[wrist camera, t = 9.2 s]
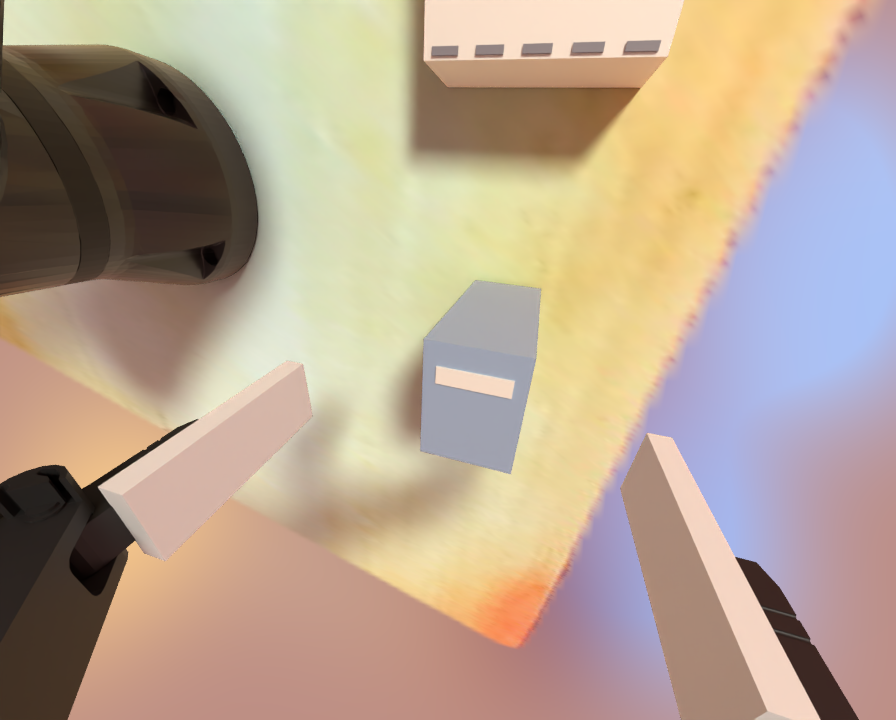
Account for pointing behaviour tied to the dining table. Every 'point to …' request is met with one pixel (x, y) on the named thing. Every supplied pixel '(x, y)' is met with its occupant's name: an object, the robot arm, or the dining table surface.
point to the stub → (480, 375)
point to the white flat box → (548, 42)
